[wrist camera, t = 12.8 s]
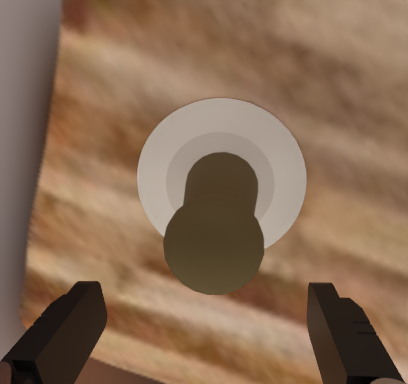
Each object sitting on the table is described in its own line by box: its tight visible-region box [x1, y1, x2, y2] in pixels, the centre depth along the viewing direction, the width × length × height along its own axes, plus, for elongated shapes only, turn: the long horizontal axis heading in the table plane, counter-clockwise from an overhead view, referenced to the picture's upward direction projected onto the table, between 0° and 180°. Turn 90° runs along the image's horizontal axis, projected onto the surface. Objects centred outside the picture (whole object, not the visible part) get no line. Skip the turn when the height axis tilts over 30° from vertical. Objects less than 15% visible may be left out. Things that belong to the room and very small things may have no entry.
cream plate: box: [137, 98, 307, 249], centre depth 24 cm, size 14×14×1 cm
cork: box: [163, 152, 264, 295], centre depth 18 cm, size 6×6×11 cm
